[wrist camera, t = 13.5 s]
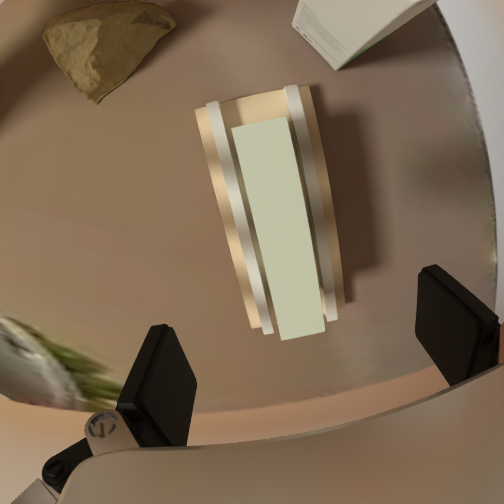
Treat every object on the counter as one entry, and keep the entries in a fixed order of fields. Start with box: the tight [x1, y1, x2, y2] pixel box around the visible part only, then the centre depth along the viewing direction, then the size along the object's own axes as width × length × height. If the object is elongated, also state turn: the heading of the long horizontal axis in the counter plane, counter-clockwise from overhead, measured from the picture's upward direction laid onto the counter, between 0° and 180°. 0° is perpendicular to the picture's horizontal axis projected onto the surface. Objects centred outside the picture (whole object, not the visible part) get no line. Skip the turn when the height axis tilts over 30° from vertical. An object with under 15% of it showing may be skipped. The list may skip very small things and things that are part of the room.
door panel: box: [231, 117, 325, 340], centre depth 23 cm, size 16×4×7 cm, turn 13°
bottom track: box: [195, 85, 346, 335], centre depth 27 cm, size 22×10×2 cm, turn 13°
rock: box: [42, 0, 177, 104], centre depth 19 cm, size 11×9×10 cm
